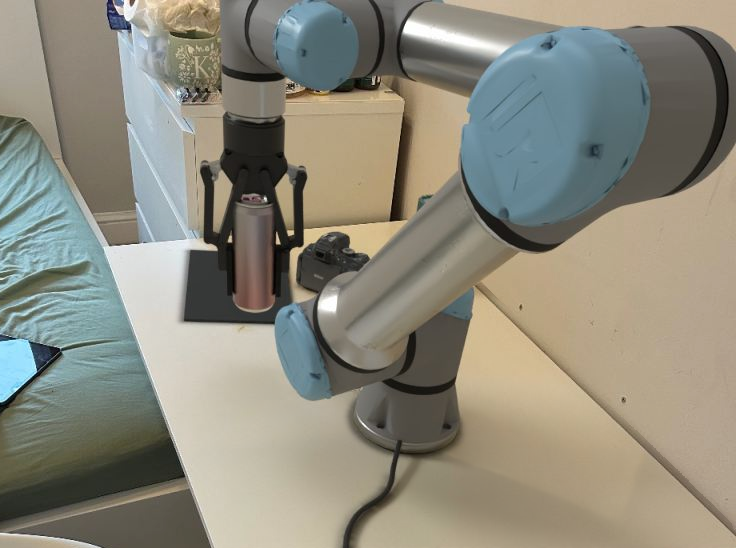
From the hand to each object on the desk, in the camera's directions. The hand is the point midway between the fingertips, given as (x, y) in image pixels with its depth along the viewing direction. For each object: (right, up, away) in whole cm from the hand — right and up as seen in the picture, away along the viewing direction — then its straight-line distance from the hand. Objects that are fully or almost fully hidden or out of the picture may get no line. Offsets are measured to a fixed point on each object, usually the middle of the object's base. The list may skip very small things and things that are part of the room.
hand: (253, 291), depth 104 cm
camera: (+10, +10, +31) cm, 34 cm away
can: (+27, +13, +37) cm, 48 cm away
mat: (-7, +10, +28) cm, 30 cm away
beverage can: (0, -1, +1) cm, 2 cm away
